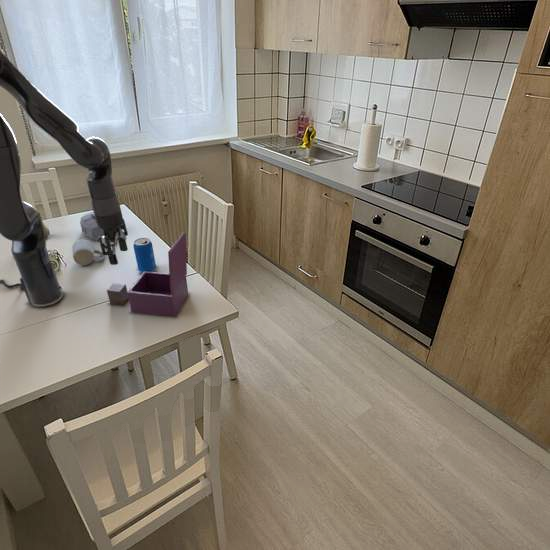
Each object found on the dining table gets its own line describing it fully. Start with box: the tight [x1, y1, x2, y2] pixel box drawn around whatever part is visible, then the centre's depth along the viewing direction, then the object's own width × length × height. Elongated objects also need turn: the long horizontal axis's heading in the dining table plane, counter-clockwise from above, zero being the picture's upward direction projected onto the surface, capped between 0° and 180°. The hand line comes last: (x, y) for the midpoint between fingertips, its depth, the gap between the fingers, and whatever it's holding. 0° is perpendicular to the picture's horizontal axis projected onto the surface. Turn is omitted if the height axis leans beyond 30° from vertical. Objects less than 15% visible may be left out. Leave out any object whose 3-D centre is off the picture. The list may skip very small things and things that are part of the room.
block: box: [106, 282, 129, 306], centre depth 129 cm, size 4×4×5 cm
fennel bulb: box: [35, 209, 50, 238], centre depth 165 cm, size 6×5×12 cm
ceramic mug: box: [72, 239, 105, 266], centre depth 150 cm, size 11×8×8 cm
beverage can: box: [132, 237, 157, 274], centre depth 144 cm, size 6×6×12 cm
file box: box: [127, 271, 189, 318], centre depth 127 cm, size 15×13×8 cm
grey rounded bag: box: [79, 211, 104, 241], centre depth 171 cm, size 15×8×20 cm
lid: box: [167, 231, 188, 296], centre depth 120 cm, size 15×13×1 cm
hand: (119, 257), depth 124 cm, fingers open, 8 cm apart
